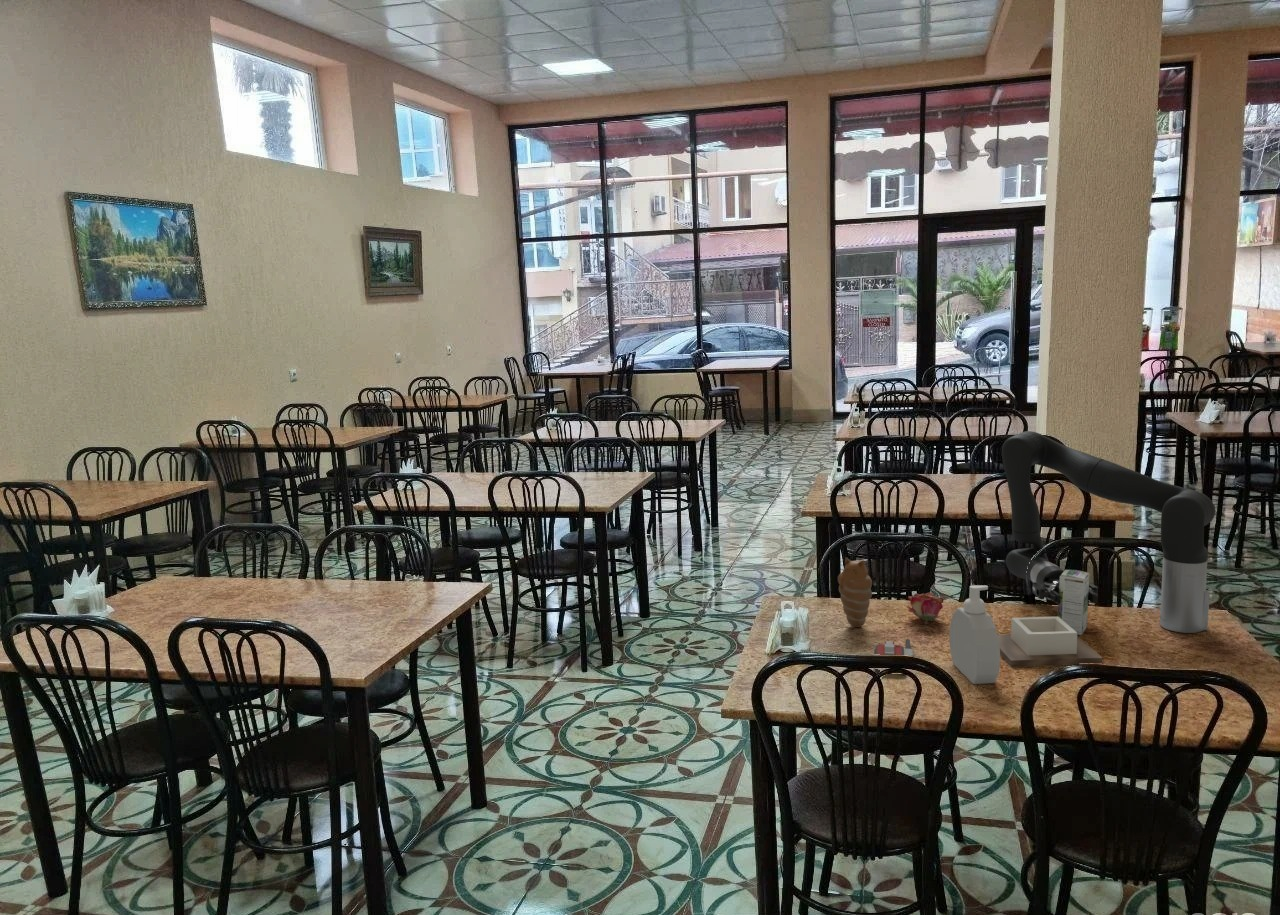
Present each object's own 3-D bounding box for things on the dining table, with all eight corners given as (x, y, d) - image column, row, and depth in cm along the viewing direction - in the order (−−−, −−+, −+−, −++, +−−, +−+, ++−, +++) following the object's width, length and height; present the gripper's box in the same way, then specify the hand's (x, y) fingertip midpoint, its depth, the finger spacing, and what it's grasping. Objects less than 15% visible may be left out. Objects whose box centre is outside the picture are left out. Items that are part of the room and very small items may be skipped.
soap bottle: (1001, 687, 199) (1003, 597, 196) (977, 689, 199) (978, 599, 195) (971, 658, 215) (972, 575, 211) (948, 660, 214) (949, 576, 211)
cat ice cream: (833, 628, 238) (832, 559, 235) (848, 619, 244) (847, 552, 241) (864, 635, 232) (864, 565, 229) (879, 625, 238) (879, 557, 235)
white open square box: (1057, 636, 221) (1058, 616, 221) (1076, 653, 211) (1077, 632, 210) (1011, 638, 222) (1011, 617, 221) (1027, 655, 211) (1028, 634, 210)
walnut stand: (1072, 638, 224) (1072, 632, 224) (1102, 664, 208) (1102, 657, 208) (987, 640, 225) (987, 634, 225) (1010, 666, 209) (1011, 660, 209)
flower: (949, 622, 233) (949, 592, 236) (913, 617, 233) (913, 586, 236) (935, 632, 242) (935, 602, 245) (900, 626, 242) (901, 597, 245)
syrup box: (1061, 624, 233) (1063, 568, 230) (1087, 628, 229) (1089, 571, 227) (1056, 632, 228) (1058, 574, 226) (1083, 636, 225) (1085, 578, 222)
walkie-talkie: (915, 679, 206) (912, 645, 225) (915, 660, 205) (912, 628, 225) (873, 676, 208) (874, 643, 228) (873, 658, 208) (874, 626, 227)
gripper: (1022, 566, 241) (1047, 585, 225) (1079, 564, 241) (1107, 583, 225) (1021, 594, 242) (1046, 615, 226) (1078, 592, 242) (1106, 613, 226)
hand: (1076, 599), depth 225 cm, fingers closed on syrup box, 8 cm apart
